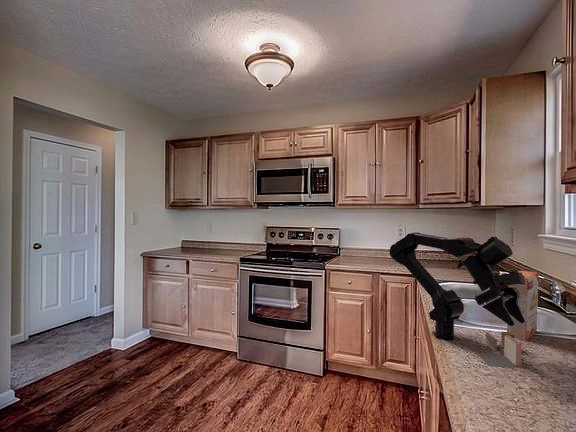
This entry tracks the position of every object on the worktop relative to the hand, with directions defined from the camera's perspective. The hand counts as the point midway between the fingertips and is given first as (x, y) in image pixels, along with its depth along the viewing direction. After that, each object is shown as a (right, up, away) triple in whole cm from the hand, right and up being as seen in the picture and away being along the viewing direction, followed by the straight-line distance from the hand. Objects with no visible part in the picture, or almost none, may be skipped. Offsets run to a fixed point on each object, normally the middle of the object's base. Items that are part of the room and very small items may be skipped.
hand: (518, 324), depth 88 cm
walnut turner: (+2, -11, +11) cm, 16 cm away
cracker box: (+17, -11, +22) cm, 30 cm away
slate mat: (-4, -12, +3) cm, 12 cm away
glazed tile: (0, -11, +2) cm, 11 cm away
